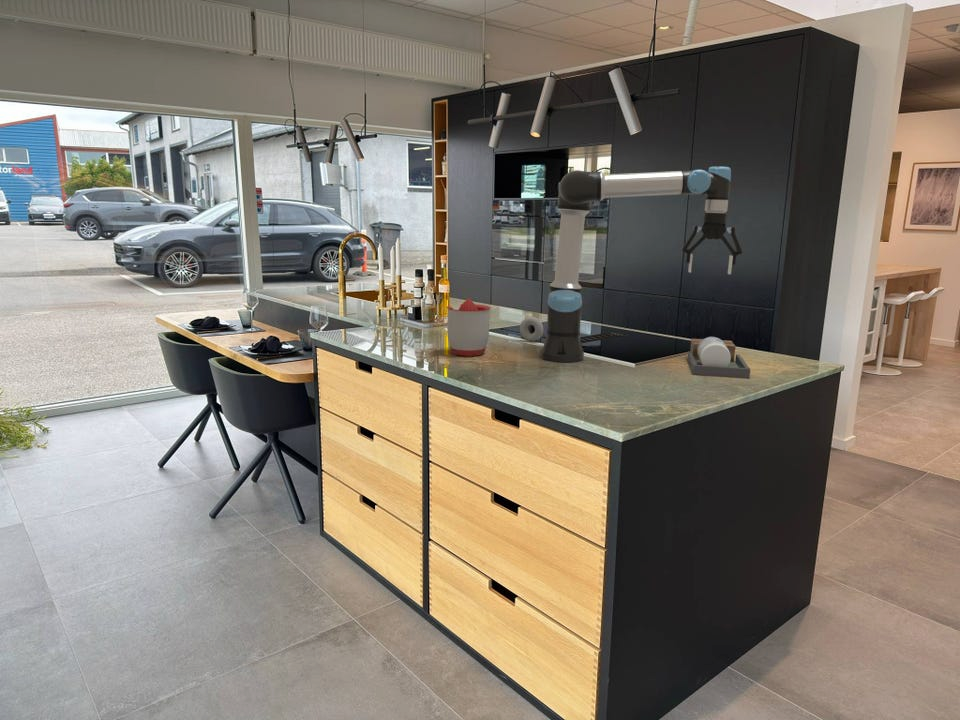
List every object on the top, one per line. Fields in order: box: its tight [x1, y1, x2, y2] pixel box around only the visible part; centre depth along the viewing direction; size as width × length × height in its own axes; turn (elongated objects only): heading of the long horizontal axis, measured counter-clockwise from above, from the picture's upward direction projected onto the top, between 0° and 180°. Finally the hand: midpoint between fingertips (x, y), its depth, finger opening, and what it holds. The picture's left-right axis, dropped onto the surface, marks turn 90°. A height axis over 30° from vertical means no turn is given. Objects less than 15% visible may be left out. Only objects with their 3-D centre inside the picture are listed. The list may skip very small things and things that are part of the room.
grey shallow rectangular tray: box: [686, 351, 751, 379], centre depth 229 cm, size 22×17×3 cm
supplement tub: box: [697, 336, 731, 367], centre depth 227 cm, size 10×10×15 cm
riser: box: [689, 338, 736, 362], centre depth 243 cm, size 10×14×6 cm
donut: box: [519, 316, 544, 343], centre depth 268 cm, size 10×4×10 cm, turn 61°
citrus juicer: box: [446, 298, 491, 357], centre depth 244 cm, size 16×17×20 cm
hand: (709, 273), depth 242 cm, fingers open, 13 cm apart
